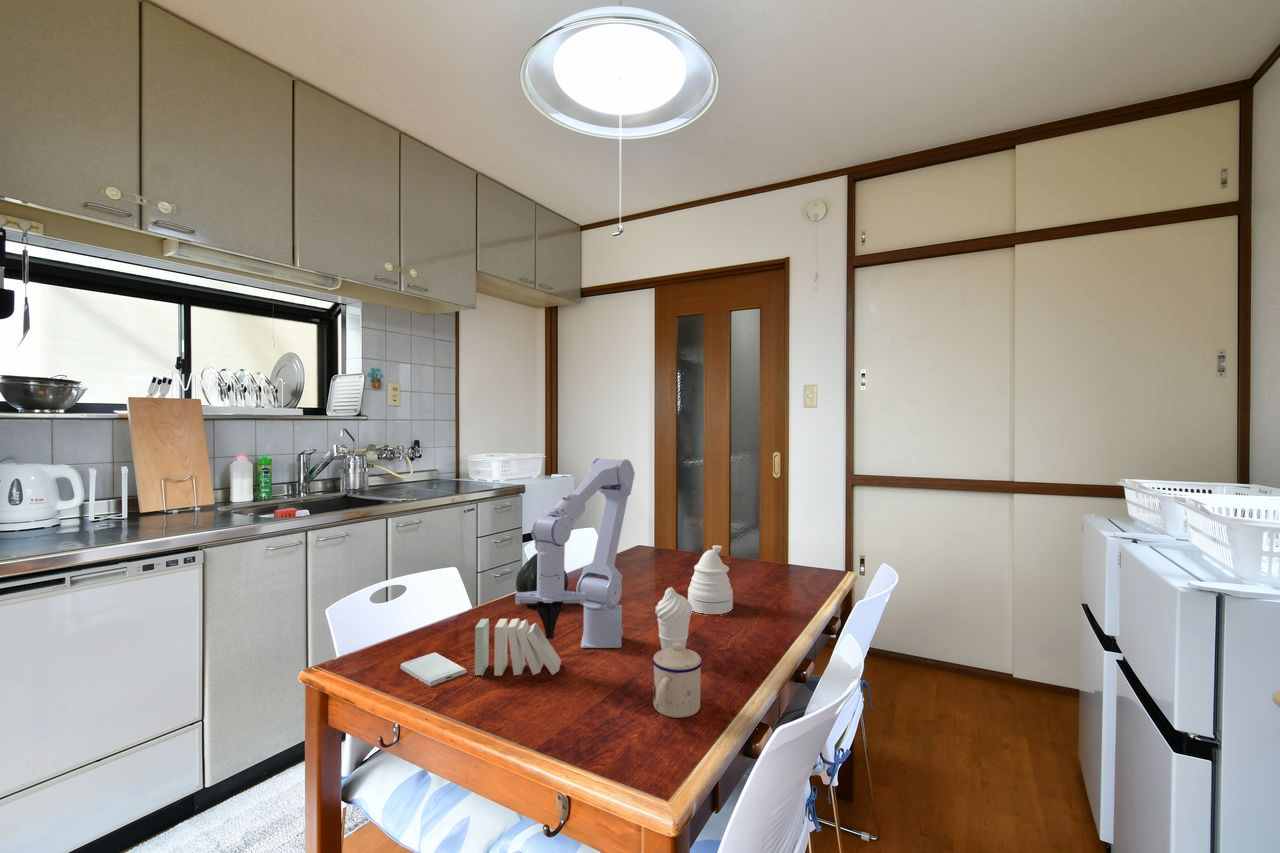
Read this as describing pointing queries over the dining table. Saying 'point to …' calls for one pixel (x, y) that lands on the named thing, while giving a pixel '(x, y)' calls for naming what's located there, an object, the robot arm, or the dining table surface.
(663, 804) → the dining table surface
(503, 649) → the domino
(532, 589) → the squash
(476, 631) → the domino
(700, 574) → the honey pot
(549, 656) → the domino
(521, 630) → the domino
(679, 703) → the teacup with lid
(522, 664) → the domino
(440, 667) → the hard drive
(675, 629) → the soft serve ice cream cone
